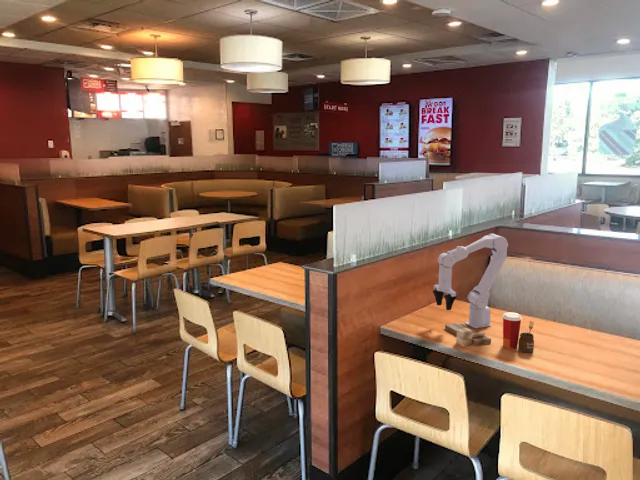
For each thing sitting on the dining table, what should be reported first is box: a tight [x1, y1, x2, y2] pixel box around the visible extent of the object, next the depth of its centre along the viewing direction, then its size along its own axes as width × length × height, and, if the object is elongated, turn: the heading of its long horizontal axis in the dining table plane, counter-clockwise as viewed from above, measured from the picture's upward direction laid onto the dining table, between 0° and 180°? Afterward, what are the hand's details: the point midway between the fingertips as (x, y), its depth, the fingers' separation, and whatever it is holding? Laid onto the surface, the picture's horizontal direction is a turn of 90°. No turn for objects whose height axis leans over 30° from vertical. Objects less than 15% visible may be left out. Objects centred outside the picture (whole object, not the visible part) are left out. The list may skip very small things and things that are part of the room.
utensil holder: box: [517, 320, 535, 354], centre depth 210 cm, size 6×6×12 cm
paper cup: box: [501, 311, 523, 350], centre depth 214 cm, size 8×8×14 cm
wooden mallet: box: [455, 328, 486, 347], centre depth 220 cm, size 13×4×6 cm, turn 111°
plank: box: [444, 322, 492, 346], centre depth 228 cm, size 8×22×2 cm, turn 21°
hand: (443, 307), depth 238 cm, fingers open, 7 cm apart
